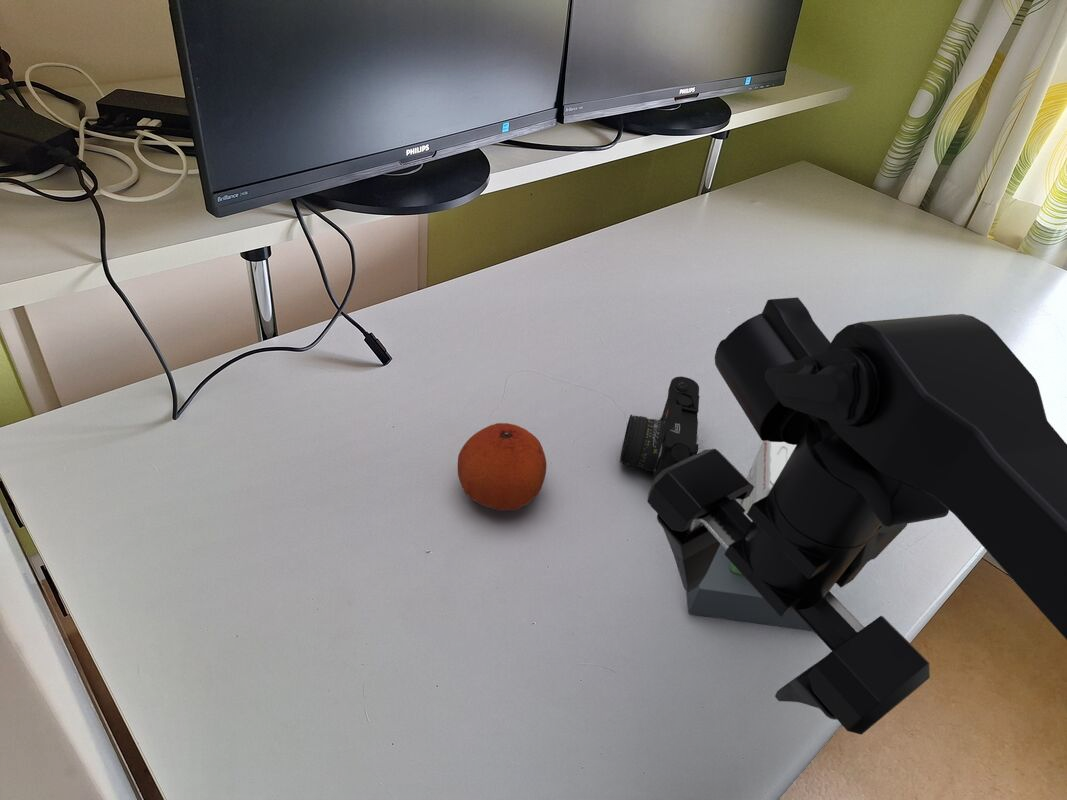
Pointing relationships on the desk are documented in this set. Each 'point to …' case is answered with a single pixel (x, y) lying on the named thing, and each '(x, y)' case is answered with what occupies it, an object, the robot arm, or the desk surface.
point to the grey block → (735, 598)
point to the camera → (665, 431)
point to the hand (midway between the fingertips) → (734, 639)
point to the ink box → (765, 473)
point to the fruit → (502, 467)
